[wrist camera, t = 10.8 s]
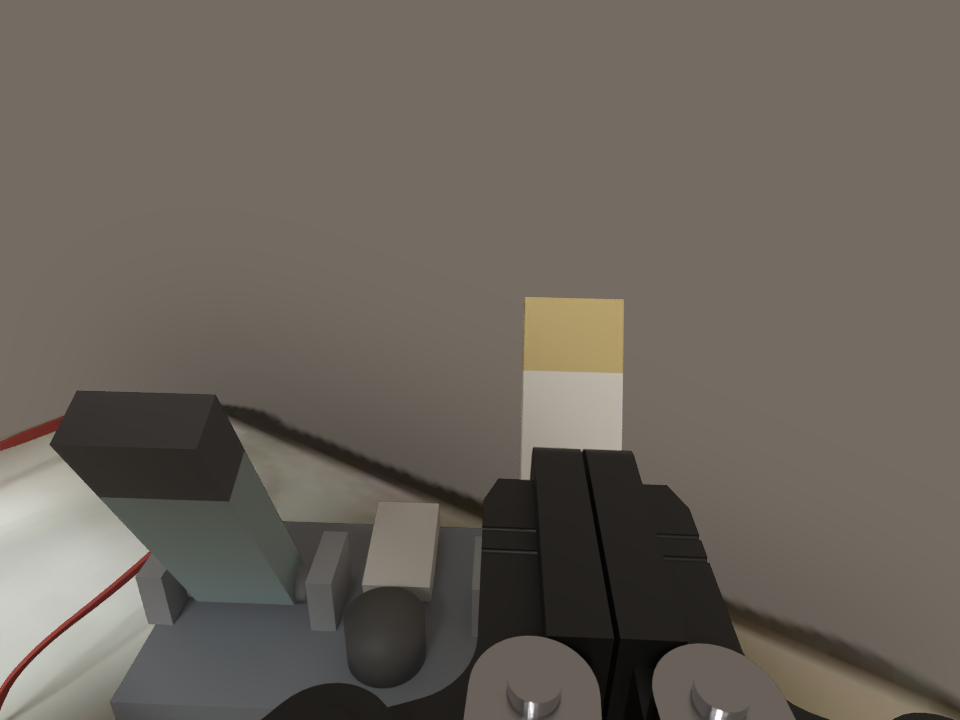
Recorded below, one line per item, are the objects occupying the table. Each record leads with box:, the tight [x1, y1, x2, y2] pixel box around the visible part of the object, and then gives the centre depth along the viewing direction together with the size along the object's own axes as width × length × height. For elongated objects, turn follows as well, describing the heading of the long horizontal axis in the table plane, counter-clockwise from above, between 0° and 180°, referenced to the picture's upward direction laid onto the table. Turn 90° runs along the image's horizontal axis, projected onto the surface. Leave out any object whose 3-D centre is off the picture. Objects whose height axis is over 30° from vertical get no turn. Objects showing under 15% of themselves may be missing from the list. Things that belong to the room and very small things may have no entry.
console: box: [110, 502, 482, 720], centre depth 29 cm, size 21×10×8 cm, turn 88°
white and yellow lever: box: [519, 297, 624, 480], centre depth 28 cm, size 5×2×13 cm, turn 88°
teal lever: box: [50, 391, 311, 605], centre depth 24 cm, size 5×2×13 cm, turn 88°
